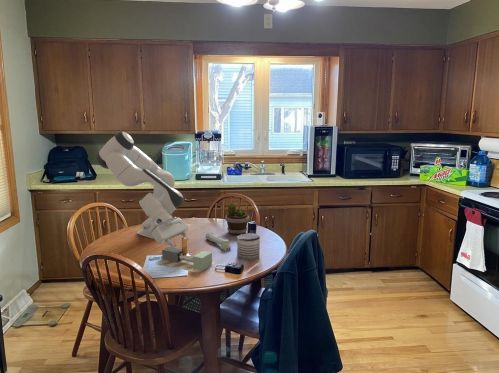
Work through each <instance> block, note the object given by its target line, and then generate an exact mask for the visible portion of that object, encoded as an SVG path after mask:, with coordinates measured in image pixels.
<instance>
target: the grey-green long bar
mask: <svg viewBox="0 0 499 373" xmlns="http://www.w3.org/2000/svg"><path fill="white" fill-rule="evenodd" d="M205 239H206V240H207V241H208V242H213V243H216V244H218V245H220V248H221V250H222V251H224V252H229V251H231V250H232V249H231V248H232V245H231V244H230V240H229V239H224V238H222V237H219V236H217V235H216V234H214V233H213V232H211V233H210V232H207V233H206V235H205Z"/></svg>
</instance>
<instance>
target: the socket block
mask: <svg viewBox="0 0 499 373" xmlns="http://www.w3.org/2000/svg"><path fill="white" fill-rule="evenodd" d="M192 256H193V268H194V269H198V270H202V271H204V270H206V269H207V267H208V268H209V267H211V266H212V265H213V264H212V262H213V252H210V251H206V250H202V251H200V252H198V253H196V254H194V255H192ZM202 271H201V272H202Z"/></svg>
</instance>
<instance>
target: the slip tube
mask: <svg viewBox="0 0 499 373" xmlns="http://www.w3.org/2000/svg"><path fill="white" fill-rule="evenodd" d="M181 249H182V253H179V254H178V259H180V260H184V261H189V262H193V256H194V255H190V254H188V241H187V238H183V237H181Z"/></svg>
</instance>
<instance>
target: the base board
mask: <svg viewBox="0 0 499 373" xmlns="http://www.w3.org/2000/svg"><path fill="white" fill-rule="evenodd" d="M155 263H156V264H160V265H164V266H168V267H172V268H177V269H181V270H184V271H188V272H193V273H197V274H199V273H201V272H202V270H198V269H194V268H193V262H189V261H184V260H182V261H180V262H178V263H175V262H171V261H167V260H163V259H159V260H158V261H156V262H155ZM214 264H216V261H212V265H214ZM207 268H209V267H207ZM207 268H206V269H207Z"/></svg>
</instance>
